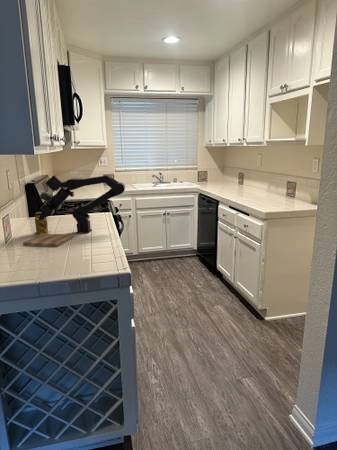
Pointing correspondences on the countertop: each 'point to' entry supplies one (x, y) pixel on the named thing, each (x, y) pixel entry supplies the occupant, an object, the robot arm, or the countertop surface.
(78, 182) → the robot arm
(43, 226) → the condiment
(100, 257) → the countertop surface
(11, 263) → the countertop surface
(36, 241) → the walnut board
